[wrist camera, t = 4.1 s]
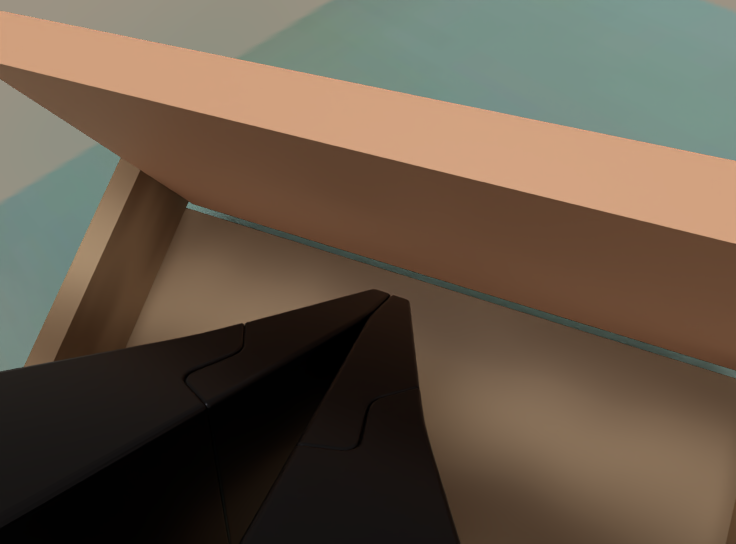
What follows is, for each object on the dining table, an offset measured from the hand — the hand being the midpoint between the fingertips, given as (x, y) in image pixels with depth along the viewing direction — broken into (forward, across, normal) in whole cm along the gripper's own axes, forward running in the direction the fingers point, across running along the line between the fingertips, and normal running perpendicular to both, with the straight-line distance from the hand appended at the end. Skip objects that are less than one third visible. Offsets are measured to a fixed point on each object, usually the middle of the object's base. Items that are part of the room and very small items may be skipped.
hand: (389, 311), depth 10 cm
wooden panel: (+6, 0, -3) cm, 7 cm away
